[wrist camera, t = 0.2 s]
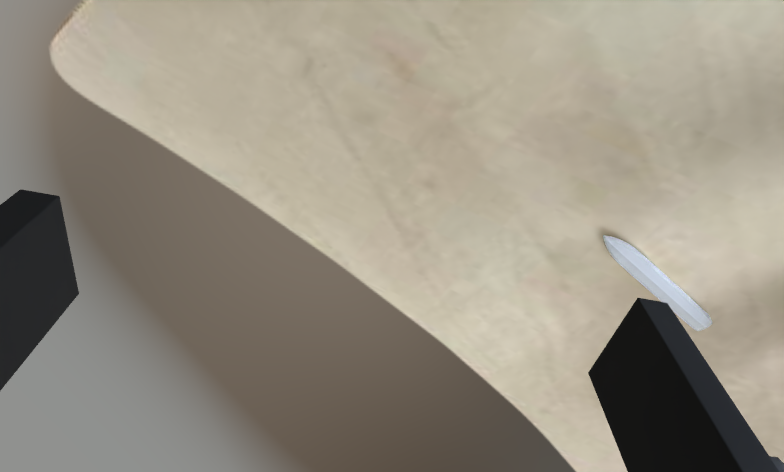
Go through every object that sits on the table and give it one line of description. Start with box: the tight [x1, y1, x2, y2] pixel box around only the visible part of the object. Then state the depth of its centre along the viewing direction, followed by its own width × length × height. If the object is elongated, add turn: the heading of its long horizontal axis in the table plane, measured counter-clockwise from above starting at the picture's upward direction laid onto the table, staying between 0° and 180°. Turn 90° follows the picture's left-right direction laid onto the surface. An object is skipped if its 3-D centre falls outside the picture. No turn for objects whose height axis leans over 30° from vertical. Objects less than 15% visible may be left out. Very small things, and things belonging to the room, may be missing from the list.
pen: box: [603, 236, 712, 331], centre depth 37 cm, size 2×14×2 cm, turn 50°
